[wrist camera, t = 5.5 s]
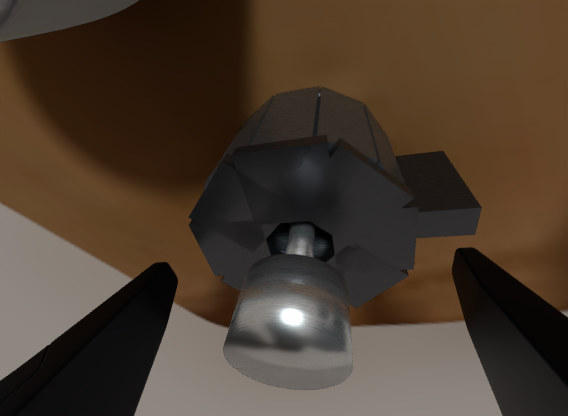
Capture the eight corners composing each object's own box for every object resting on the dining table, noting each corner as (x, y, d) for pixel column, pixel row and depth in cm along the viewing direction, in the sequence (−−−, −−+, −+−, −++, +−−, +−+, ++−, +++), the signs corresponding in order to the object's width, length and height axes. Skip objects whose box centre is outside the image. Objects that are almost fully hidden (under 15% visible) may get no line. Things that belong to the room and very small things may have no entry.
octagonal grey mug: (444, 63, 11) (521, 116, 6) (427, 215, 15) (467, 309, 10) (217, 104, 13) (157, 165, 8) (258, 227, 17) (232, 310, 12)
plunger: (358, 123, 11) (393, 300, 5) (363, 216, 14) (389, 408, 7) (246, 140, 12) (154, 303, 6) (270, 223, 15) (226, 396, 8)
